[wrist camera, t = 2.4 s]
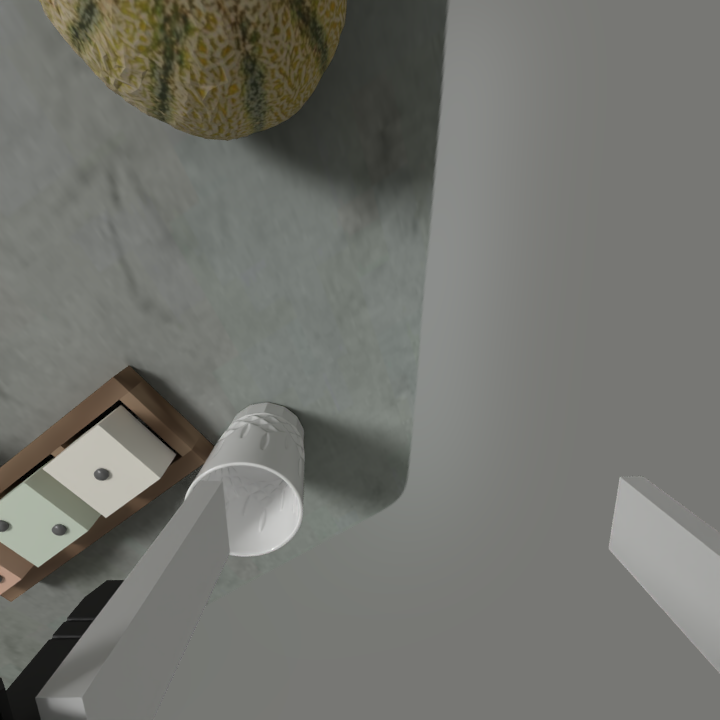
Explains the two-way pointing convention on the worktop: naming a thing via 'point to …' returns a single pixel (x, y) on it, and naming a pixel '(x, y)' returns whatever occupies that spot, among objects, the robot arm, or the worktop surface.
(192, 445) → the board
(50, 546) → the tile
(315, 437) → the worktop surface
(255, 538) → the white cup
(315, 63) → the cantaloupe
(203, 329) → the worktop surface
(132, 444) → the tile
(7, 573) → the three-pip tile
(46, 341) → the worktop surface
